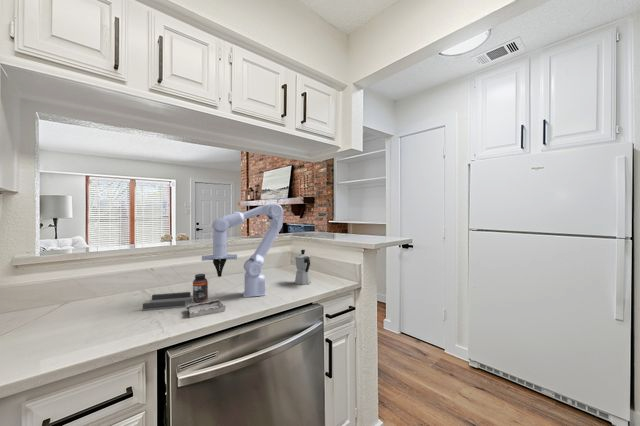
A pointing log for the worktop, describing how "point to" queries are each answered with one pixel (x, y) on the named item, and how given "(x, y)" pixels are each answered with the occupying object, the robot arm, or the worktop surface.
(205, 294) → the supplement bottle
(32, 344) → the worktop surface
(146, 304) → the mat
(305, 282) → the coffee maker
